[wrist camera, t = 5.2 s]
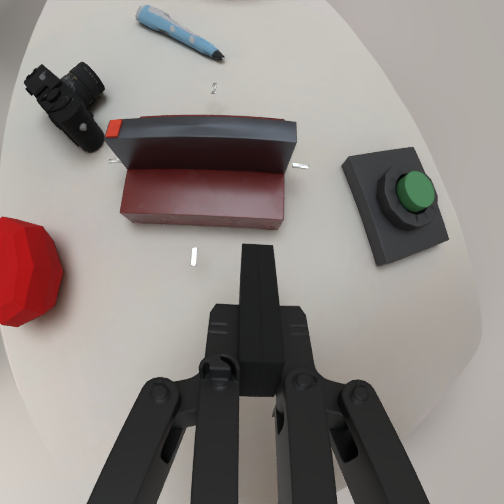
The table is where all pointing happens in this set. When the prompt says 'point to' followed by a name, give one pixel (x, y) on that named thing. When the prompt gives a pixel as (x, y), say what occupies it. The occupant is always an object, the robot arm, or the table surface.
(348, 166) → the control block
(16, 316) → the apple
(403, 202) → the green push button
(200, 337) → the table surface
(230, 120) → the red-tipped grey slab
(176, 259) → the table surface
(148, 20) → the pen
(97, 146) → the camera
